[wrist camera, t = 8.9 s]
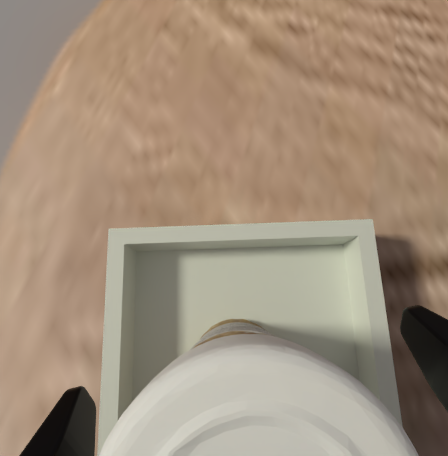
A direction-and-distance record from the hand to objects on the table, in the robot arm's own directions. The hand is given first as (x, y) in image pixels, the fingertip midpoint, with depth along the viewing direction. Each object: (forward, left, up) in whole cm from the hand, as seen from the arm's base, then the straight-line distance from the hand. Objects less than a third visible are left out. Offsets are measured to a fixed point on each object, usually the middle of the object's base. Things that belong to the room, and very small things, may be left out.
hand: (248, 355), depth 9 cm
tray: (-1, 0, -9) cm, 9 cm away
